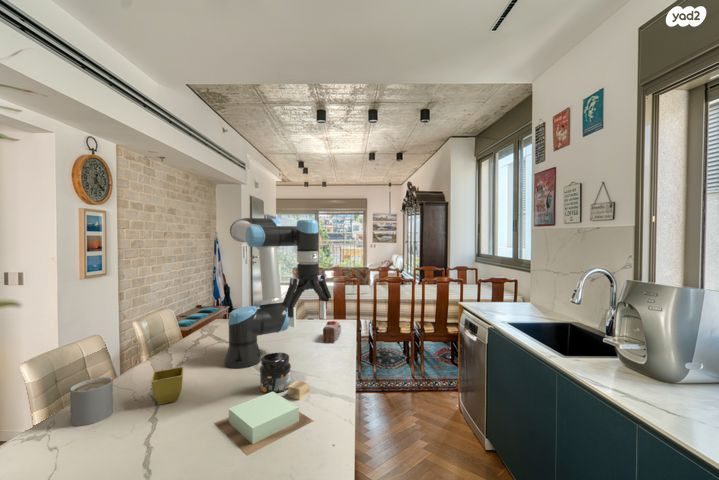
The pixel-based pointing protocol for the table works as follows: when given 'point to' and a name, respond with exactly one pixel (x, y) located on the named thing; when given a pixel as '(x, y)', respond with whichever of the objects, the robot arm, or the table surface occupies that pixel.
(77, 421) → the coffee mug
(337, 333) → the food item
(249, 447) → the board
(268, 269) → the robot arm
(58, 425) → the table surface
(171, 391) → the flower pot
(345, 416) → the table surface
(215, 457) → the table surface
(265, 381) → the supplement container
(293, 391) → the block
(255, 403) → the pedestal slab
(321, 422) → the table surface
